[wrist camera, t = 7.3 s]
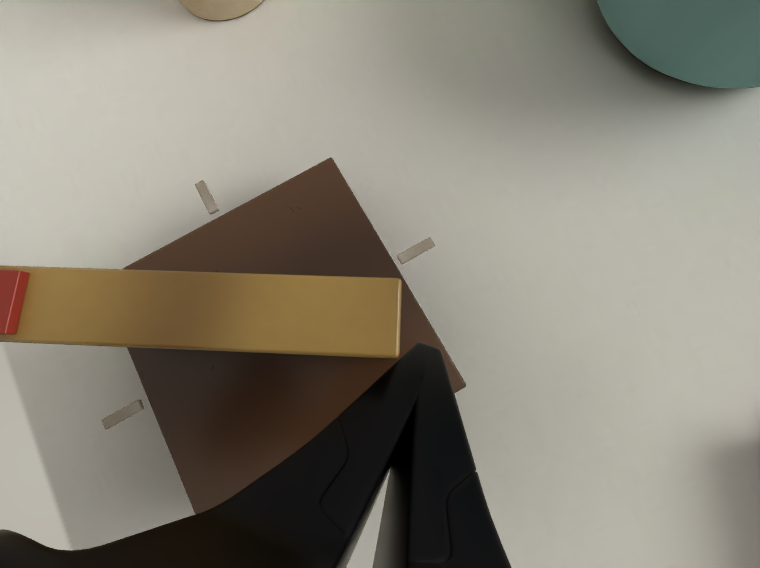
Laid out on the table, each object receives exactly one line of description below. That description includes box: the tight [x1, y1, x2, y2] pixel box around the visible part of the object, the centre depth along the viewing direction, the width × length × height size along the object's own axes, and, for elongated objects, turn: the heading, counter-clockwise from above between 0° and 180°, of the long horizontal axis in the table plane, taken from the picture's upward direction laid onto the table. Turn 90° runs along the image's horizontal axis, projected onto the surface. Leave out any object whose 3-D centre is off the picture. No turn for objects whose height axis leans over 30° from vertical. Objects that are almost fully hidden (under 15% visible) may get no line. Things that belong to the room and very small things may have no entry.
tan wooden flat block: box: [0, 266, 402, 359], centre depth 10 cm, size 9×2×6 cm, turn 88°
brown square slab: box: [102, 158, 466, 514], centre depth 15 cm, size 13×13×3 cm
